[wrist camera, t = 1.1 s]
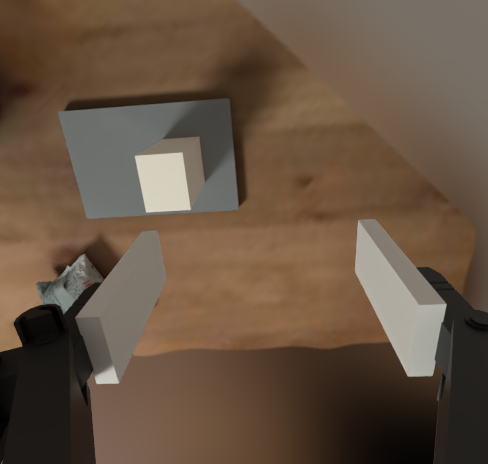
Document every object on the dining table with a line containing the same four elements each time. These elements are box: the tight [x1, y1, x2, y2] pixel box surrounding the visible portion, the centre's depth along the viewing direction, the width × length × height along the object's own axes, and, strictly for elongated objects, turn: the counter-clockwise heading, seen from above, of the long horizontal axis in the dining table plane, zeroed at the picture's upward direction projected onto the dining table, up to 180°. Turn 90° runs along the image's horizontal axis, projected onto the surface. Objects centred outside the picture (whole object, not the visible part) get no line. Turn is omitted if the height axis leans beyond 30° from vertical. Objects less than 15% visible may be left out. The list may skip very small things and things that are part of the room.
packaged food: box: [36, 254, 104, 314], centre depth 44 cm, size 9×12×5 cm
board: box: [58, 98, 239, 219], centre depth 38 cm, size 18×12×1 cm, turn 94°
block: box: [135, 136, 205, 213], centre depth 33 cm, size 4×5×9 cm
